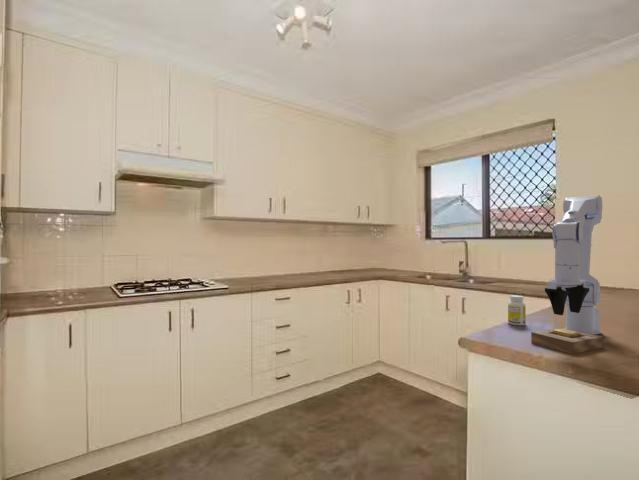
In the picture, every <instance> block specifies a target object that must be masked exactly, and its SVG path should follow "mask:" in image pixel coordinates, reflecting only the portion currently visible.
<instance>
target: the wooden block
mask: <svg viewBox="0 0 639 480" xmlns="http://www.w3.org/2000/svg"><path fill="white" fill-rule="evenodd" d="M553 334H555V335H559V336H563V337H567V338H578V337H580V332H576V331H572V330H567V329H557V330H553Z"/></svg>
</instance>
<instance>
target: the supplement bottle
mask: <svg viewBox="0 0 639 480" xmlns="http://www.w3.org/2000/svg"><path fill="white" fill-rule="evenodd" d="M509 299H510V301H509V302H508V303H507V323H508V324H509V323H510V325H514V326H525V325H526V317H527V315H526V303H525V302H523V301H524V296H523V295H516V294H514V295H513V294H511V295H510V296H509Z"/></svg>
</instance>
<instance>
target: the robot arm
mask: <svg viewBox="0 0 639 480" xmlns="http://www.w3.org/2000/svg"><path fill="white" fill-rule="evenodd" d="M562 209H563V211H562V212H563V215H562V217H561V218H560V220H559V222H557V223H556V224H553V226H552V240H553V248H554V253H555V254H554V278H551V279H550V281H547V283H546V287H544V293H545V294H546V295H547V297H548V299H549V301H550V304H551V308H552V312H553V314H554V315H557V316H564V312H565V328H566V329H570V330H575V331H579V332H584V333H589V334H593V335H599V334H603V333H604V331H601V330H600V327H601V326H600V325H601V323H600V317H601V315H600V310H599V309H598V307H596V306H597V305H599V304H600V300H601V287H600V281H599V280H598V279H597V278H596V277H594V276H592V275H591V274H590V273H591V272H590V270H591V252H592V251H591V250H592V237H593V235H592V233H593V229H594V227H595V226H596V225H598V224H600V223H601V220H602V218H603V216H602V215H603V214H602V213H603V197H602V196H601V195H599V194H597V195H590V196H588V195H587V196H576V197H575V196H574V197H573V196H572V197H569V196H567V197H565V199H564V200H563V204H562Z"/></svg>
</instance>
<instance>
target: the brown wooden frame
mask: <svg viewBox="0 0 639 480" xmlns="http://www.w3.org/2000/svg"><path fill="white" fill-rule="evenodd" d="M557 329H566V327H558V328H550V329H545V330H537V331H531V333H530V334H531V336H530V337H531V338H530V341H531V342H530V343H531V344H535V345H538V346H543V347H546V348H549V349H553V350H557V351H561V352H563V353H567V354H570V355H574V354H579V353H584V352H588V351H593V350H597V349H602V348H604V336H601V335H599V334H595V335H593V334H589V333H584V332H580V337H578V338H567V337H563V336H559V335H555V334H553V330H557ZM567 330H570V329H567ZM572 331H575V330H572ZM576 332H579V331H576Z"/></svg>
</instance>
